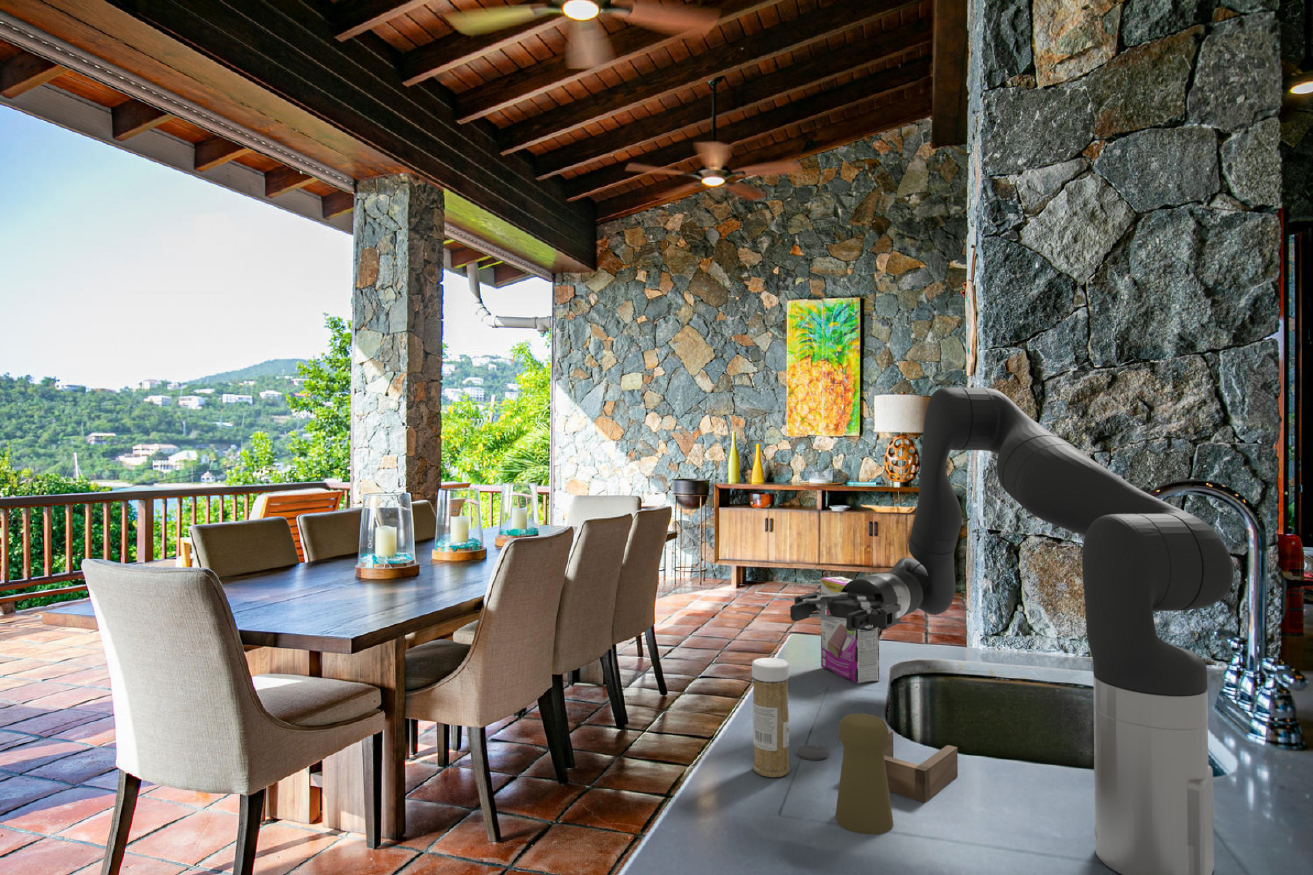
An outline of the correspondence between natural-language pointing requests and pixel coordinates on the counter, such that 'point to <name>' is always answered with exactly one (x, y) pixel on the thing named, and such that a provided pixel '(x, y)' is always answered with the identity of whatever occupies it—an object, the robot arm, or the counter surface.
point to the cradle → (920, 773)
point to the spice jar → (770, 717)
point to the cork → (864, 776)
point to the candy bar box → (847, 643)
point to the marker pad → (812, 752)
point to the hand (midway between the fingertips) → (820, 618)
